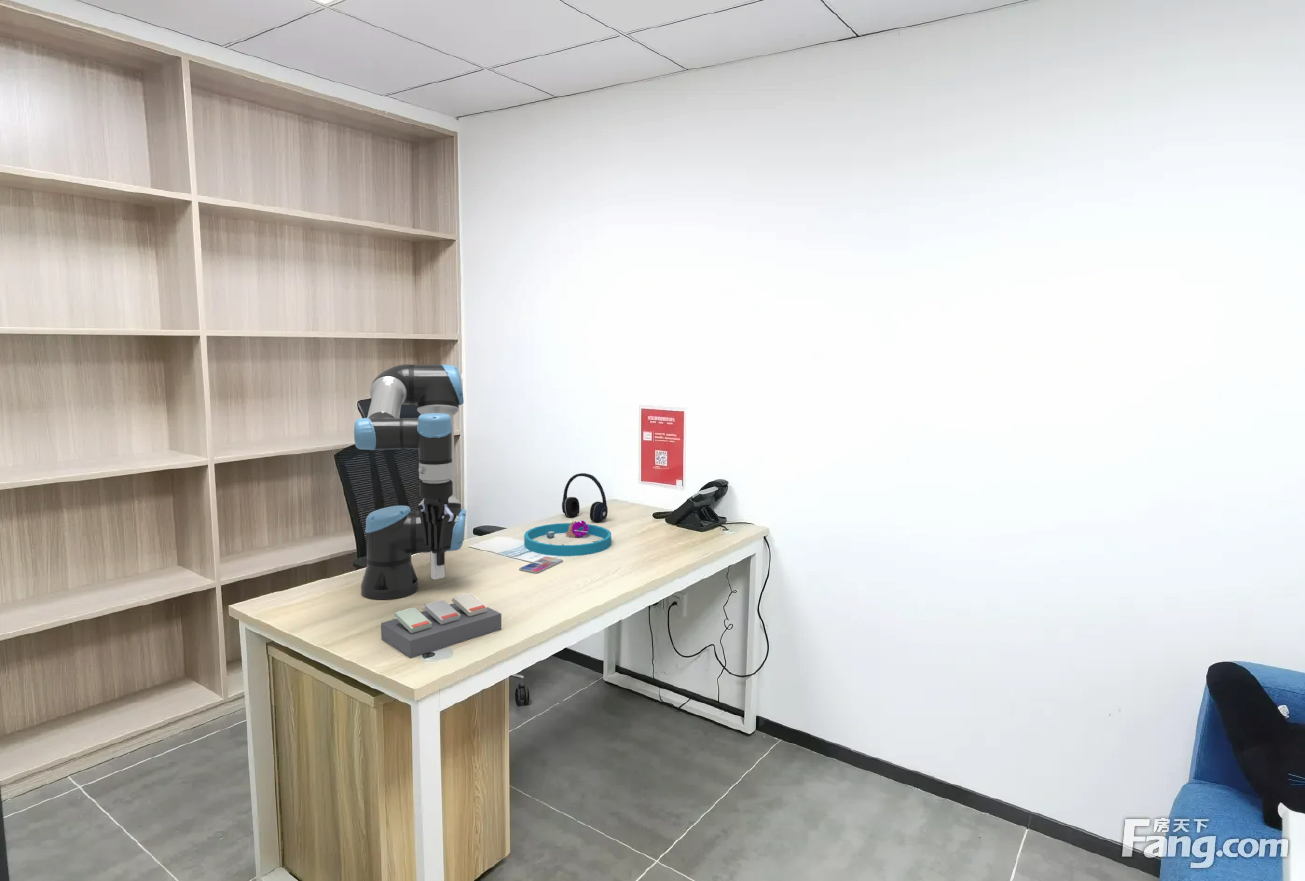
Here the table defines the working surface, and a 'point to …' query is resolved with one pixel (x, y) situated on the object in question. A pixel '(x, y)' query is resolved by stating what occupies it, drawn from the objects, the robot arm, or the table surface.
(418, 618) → the sage rocker
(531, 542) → the teal round tray
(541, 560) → the smartphone
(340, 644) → the table surface
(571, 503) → the headphones
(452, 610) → the grey rocker
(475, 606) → the cream rocker
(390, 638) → the rocker switch panel
